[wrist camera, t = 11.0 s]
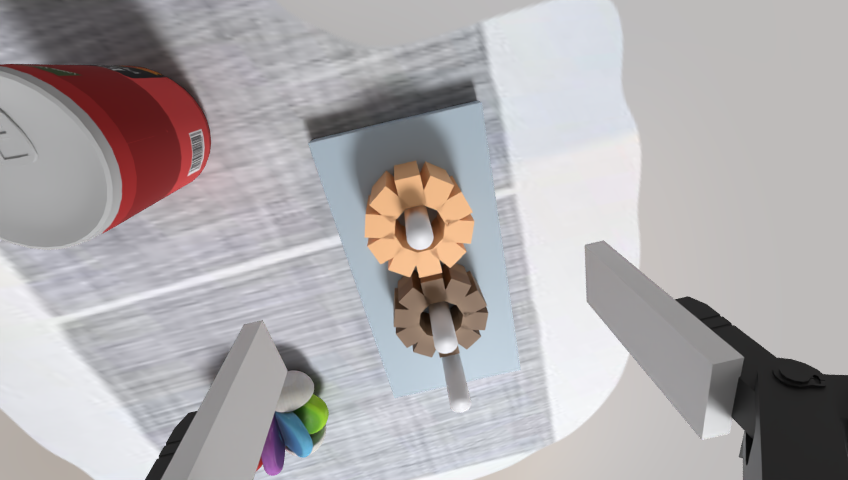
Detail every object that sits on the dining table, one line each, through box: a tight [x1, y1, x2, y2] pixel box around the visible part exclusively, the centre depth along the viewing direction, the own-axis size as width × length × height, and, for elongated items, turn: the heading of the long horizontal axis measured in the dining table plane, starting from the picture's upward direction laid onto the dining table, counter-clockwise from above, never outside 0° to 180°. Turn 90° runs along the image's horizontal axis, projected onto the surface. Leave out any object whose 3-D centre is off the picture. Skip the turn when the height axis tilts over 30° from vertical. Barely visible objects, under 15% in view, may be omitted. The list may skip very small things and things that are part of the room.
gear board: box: [308, 101, 521, 412], centre depth 29 cm, size 24×12×8 cm, turn 12°
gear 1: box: [365, 161, 475, 278], centre depth 27 cm, size 7×7×4 cm
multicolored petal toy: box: [256, 370, 329, 476], centre depth 34 cm, size 8×10×7 cm
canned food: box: [0, 64, 211, 250], centre depth 21 cm, size 8×8×11 cm
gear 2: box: [393, 263, 488, 358], centre depth 30 cm, size 7×7×3 cm
